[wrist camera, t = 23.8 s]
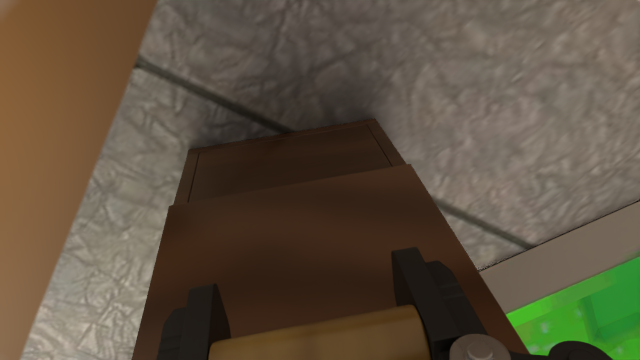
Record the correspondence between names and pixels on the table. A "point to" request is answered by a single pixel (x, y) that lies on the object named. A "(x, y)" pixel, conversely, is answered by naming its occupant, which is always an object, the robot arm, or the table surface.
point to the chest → (285, 160)
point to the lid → (312, 269)
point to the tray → (577, 288)
